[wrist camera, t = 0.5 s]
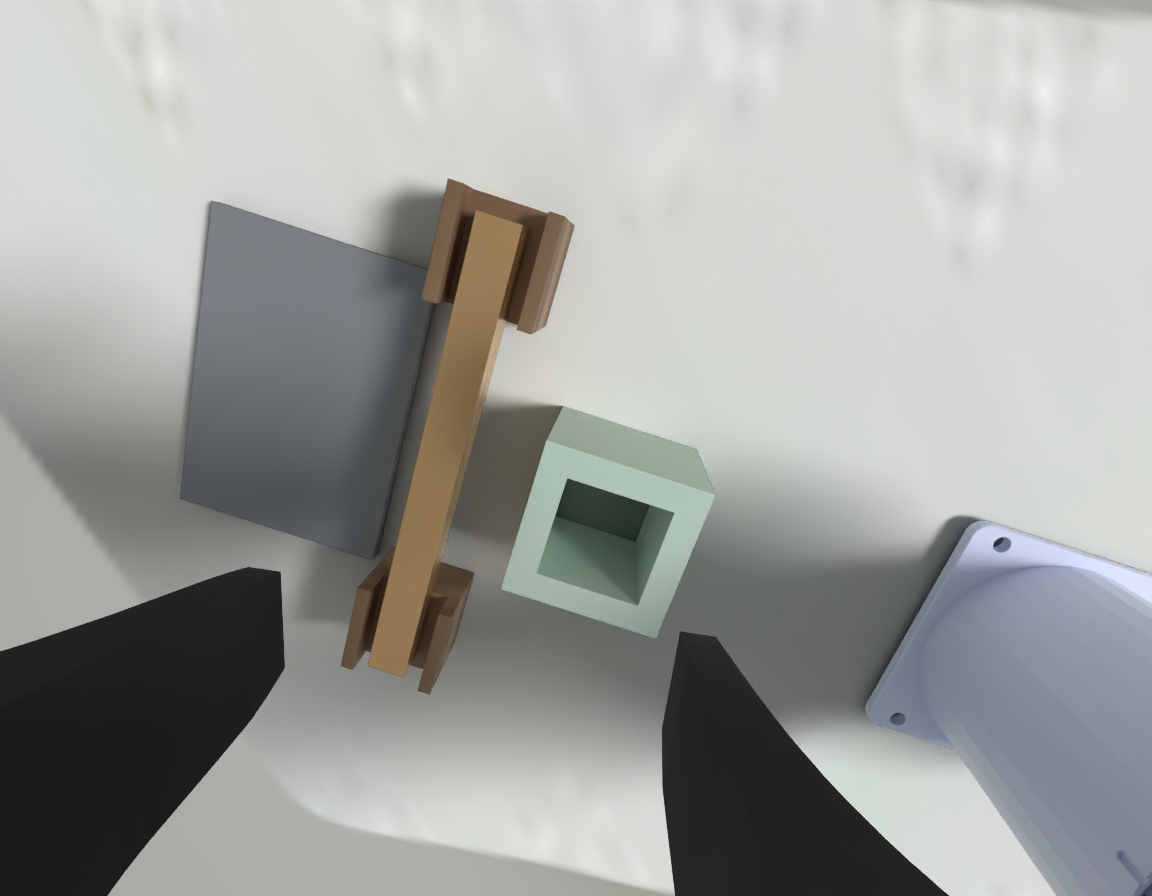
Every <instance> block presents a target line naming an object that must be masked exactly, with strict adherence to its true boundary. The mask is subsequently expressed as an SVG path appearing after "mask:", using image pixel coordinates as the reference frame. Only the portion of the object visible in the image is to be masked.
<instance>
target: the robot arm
mask: <svg viewBox="0 0 1152 896" xmlns="http://www.w3.org/2000/svg"><path fill="white" fill-rule="evenodd" d="M1001 537H1003V542H1002V543H1001V544H1000V545H999V546H996V547H993V544H994V542H995V541H996V540H997V539H998V538H1001ZM284 668H285V662H284V639H283V616H282V594H281V572H278V571H271V570H264V569H257V568H251V567H247V568H243V569H240V570H236V571H232V572H229V573H226V574H223V575H220V576H217V577H214V578H211V579H208V580H205V581H202V582H200V583H197V584H194V585H191V586H188V587H186V588H183V589H180V590H178V591H175V592H172V593H169V594H167V595H164V596H161V597H158V598H156V599H153V600H150V601H148V602H145V603H142V604H139V605H137V606H134V607H131V608H128V609H126V610H123V611H120V612H118V613H115V614H112V615H109V616H106V617H104V618H100V619H97V620H95V621H92V622H89V623H86V624H83V625H80V626H77V627H74V628H71V629H68V630H65V631H62V632H60V633H56V634H54V635H50V636H47V637H45V638H41V639H38V640H36V641H33V642H29V643H26V644H23V645H20V646H17V647H14V648H10V649H7V650H4V651H0V896H107V895H108V894H109V893H110V891H111V890H112V888H113V887H114V886H115V884H116V883H117V882H118V880H119V879H120V877H121V876H122V875H123V873H124V872H125V870H126V869H127V868H128V867H129V866H130V864H131V863H132V862H133V860H134V859H135V858H136V857H137V856H138V854H139V853H140V852H141V851H142V849H143V848H144V847H145V845H146V844H147V843H148V842H149V841H150V839H151V838H152V837H153V836H154V835H155V834H156V832H157V831H158V830H159V829H160V827H161V826H162V825H163V824H164V823H165V822H166V821H167V819H168V818H169V817H170V816H171V815H172V813H173V812H174V811H175V810H176V809H177V807H178V806H179V805H180V804H181V803H182V801H183V800H184V799H185V798H186V797H187V796H188V795H189V793H190V792H191V791H192V790H193V789H194V787H195V786H196V785H197V784H198V783H199V782H200V781H201V779H202V778H203V777H204V775H206V773H207V772H208V771H209V770H210V769H211V767H212V766H213V765H214V764H215V763H216V761H217V760H218V759H219V758H220V757H221V756H222V754H223V753H224V752H225V751H226V750H227V748H228V747H229V746H230V745H231V743H233V741H234V740H235V739H236V738H237V737H238V735H239V734H240V733H241V732H242V730H243V729H244V728H245V727H246V726H247V724H248V723H249V722H250V721H251V719H252V718H253V716H254V715H255V713H256V712H257V710H258V709H259V708H260V706H261V705H262V703H263V702H264V700H265V699H266V697H267V696H268V694H269V692H270V691H271V689H272V688H273V686H274V684H275V683H276V681H277V680H278V678H279V676H280V675H281V673H282V672H283V670H284ZM865 709H866V713H867V715H868V717H869V719H870V720H871V721H872V722H873V723H875V724H876V725H879V726H882V727H885V728H888V729H892V730H895V731H898V732H901V733H904V734H907V735H910V736H913V737H917V738H920V739H923V740H926V741H929V742H932V743H935V744H938V745H941V746H945V747H948V748H951V749H954V750H956V751H957V753H958V754H959V756H960V757H961V759H962V760H963V762H964V763H965V764H966V766H967V767H968V769H969V770H970V772H971V773H972V775H973V776H974V777H975V779H976V780H977V782H978V783H979V785H980V786H981V788H982V789H983V790H984V792H985V793H986V795H987V796H988V798H989V799H990V801H991V802H992V803H993V805H994V806H995V808H996V809H997V811H998V812H999V814H1000V815H1001V816H1002V818H1003V819H1004V821H1005V822H1006V824H1007V825H1008V827H1009V828H1010V830H1011V831H1012V832H1013V834H1014V835H1015V837H1016V838H1017V840H1018V841H1019V843H1020V844H1021V845H1022V847H1023V848H1024V850H1025V851H1026V853H1027V854H1028V856H1029V857H1030V858H1031V860H1032V861H1033V863H1034V864H1035V866H1036V867H1037V869H1038V870H1039V871H1040V873H1041V874H1042V876H1043V877H1044V879H1045V880H1046V882H1047V883H1048V884H1049V886H1050V887H1051V889H1052V890H1053V892H1054V893H1055V895H1056V896H1152V574H1150V573H1147V572H1143V571H1140V570H1137V569H1134V568H1131V567H1128V566H1125V565H1122V564H1119V563H1116V562H1113V561H1109V560H1106V559H1103V558H1100V557H1097V556H1094V555H1091V554H1088V553H1085V552H1082V551H1079V550H1076V549H1072V548H1069V547H1066V546H1063V545H1060V544H1057V543H1054V542H1051V541H1048V540H1045V539H1042V538H1038V537H1035V536H1032V535H1029V534H1026V533H1023V532H1020V531H1017V530H1014V529H1011V528H1008V527H1004V526H1001V525H998V524H995V523H992V522H989V521H977V522H974V523H973V524H971V525H969V526H968V528H967V529H966V530H965V532H964V533H963V535H962V537H961V539H960V540H959V542H958V544H957V546H956V547H955V549H954V551H953V553H952V554H951V556H950V558H949V560H948V561H947V563H946V565H945V567H944V568H943V570H942V572H941V574H940V575H939V577H938V579H937V581H936V582H935V584H934V586H933V588H932V590H931V591H930V593H929V595H928V597H927V598H926V600H925V602H924V604H923V605H922V607H921V609H920V611H919V612H918V614H917V616H916V618H915V619H914V621H913V623H912V625H911V626H910V628H909V630H908V632H907V633H906V635H905V637H904V639H903V640H902V642H901V644H900V646H899V647H898V649H897V651H896V653H895V654H894V656H893V658H892V660H891V661H890V663H889V665H888V667H887V668H886V670H885V672H884V674H883V675H882V677H881V679H880V681H879V682H878V684H877V686H876V688H875V689H874V691H873V693H872V695H871V696H870V698H869V700H868V702H867V704H866V707H865ZM895 713H900V714H899V715H898V716H896V717H891V716H892V715H893V714H895ZM662 777H663V795H664V804H665V813H666V822H667V830H668V839H669V847H670V856H671V864H672V873H673V881H674V889H675V896H949V895H947V894H946V893H945V892H944V891H943V890H942V889H941V888H939V887H938V886H937V885H936V884H935V883H934V882H933V881H931V880H930V879H929V878H928V877H927V876H926V875H925V874H923V873H922V872H921V871H920V870H919V869H918V868H917V867H915V866H914V865H913V864H912V863H911V862H910V861H909V860H908V859H907V858H905V857H904V856H903V855H902V854H901V853H900V852H899V851H898V850H897V849H896V848H895V847H894V846H893V845H891V844H890V843H889V842H888V841H887V840H886V839H885V838H884V837H883V836H882V835H881V834H880V833H879V832H878V831H877V830H876V829H875V828H874V827H873V826H872V825H871V824H870V823H869V822H868V821H867V820H866V819H865V818H864V817H863V816H862V815H861V814H860V813H859V812H858V811H857V810H856V809H855V808H854V807H853V806H852V805H851V804H850V803H849V802H848V801H847V800H846V799H845V798H844V797H843V796H842V795H841V794H840V793H839V792H838V791H837V790H836V789H835V787H834V786H833V785H832V784H831V783H830V782H829V781H828V780H827V779H826V778H825V777H824V776H823V774H822V773H821V772H820V771H819V770H818V769H817V768H816V766H815V765H814V764H813V763H812V762H811V761H810V760H809V758H808V757H807V756H806V755H805V754H804V753H803V752H802V750H801V749H800V748H799V747H798V746H797V745H796V743H795V742H794V741H793V740H792V739H791V737H790V736H789V735H788V734H787V733H786V731H785V730H784V729H783V728H782V726H781V725H780V724H779V722H778V721H777V720H776V719H775V717H774V716H773V715H772V713H771V712H770V711H769V710H768V708H767V707H766V706H765V704H764V703H763V702H762V700H761V699H760V698H759V696H758V695H757V694H756V692H755V691H754V690H753V688H752V687H751V685H750V684H749V683H748V681H747V680H746V679H745V677H744V676H743V674H742V673H741V672H740V670H739V669H738V667H737V666H736V665H735V663H734V662H733V660H732V659H731V657H730V656H729V655H728V653H727V652H726V650H725V649H724V648H723V646H722V645H721V644H720V642H719V641H718V639H717V638H716V637H713V636H706V635H699V634H693V633H686V632H680V636H679V641H678V646H677V652H676V657H675V662H674V668H673V673H672V678H671V684H670V689H669V695H668V700H667V705H666V711H665V716H664V721H663V727H662Z"/></svg>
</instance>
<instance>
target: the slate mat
mask: <svg viewBox="0 0 1152 896" xmlns="http://www.w3.org/2000/svg"><path fill="white" fill-rule="evenodd" d="M427 272H428V270H426V269H423V268H420V267H417V266H414V265H411V264H408V263H405V262H402V261H399V260H396V259H393V258H389V257H386V256H383V255H380V254H377V253H374V252H371V251H368V250H365V249H362V248H359V247H356V246H353V245H349V244H346V243H343V242H340V241H337V240H334V239H331V238H328V237H325V236H322V235H319V234H316V233H312V232H309V231H306V230H303V229H300V228H297V227H294V226H291V225H288V224H285V223H282V222H279V221H276V220H272V219H269V218H266V217H263V216H260V215H257V214H254V213H251V212H248V211H245V210H242V209H239V208H235V207H232V206H229V205H226V204H223V203H220V202H214V201H212V202H211V211H210V221H209V230H208V240H207V249H206V258H205V268H204V277H203V287H202V296H201V305H200V315H199V324H198V334H197V343H196V353H195V362H194V371H193V381H192V390H191V400H190V409H189V419H188V428H187V437H186V447H185V456H184V466H183V475H182V484H181V494H180V499H183V500H186V501H189V502H192V503H195V504H198V505H202V506H205V507H208V508H211V509H214V510H217V511H220V512H223V513H226V514H230V515H233V516H236V517H239V518H242V519H245V520H248V521H251V522H254V523H258V524H261V525H264V526H267V527H270V528H273V529H276V530H279V531H283V532H286V533H289V534H292V535H295V536H298V537H301V538H304V539H307V540H311V541H314V542H317V543H320V544H323V545H326V546H329V547H332V548H336V549H339V550H342V551H345V552H348V553H351V554H354V555H357V556H360V557H364V558H367V559H370V560H373V559H374V558H375V556H376V555H377V552H378V548H379V543H380V539H381V535H382V530H383V526H384V521H385V517H386V513H387V508H388V504H389V499H390V495H391V491H392V486H393V482H394V477H395V473H396V469H397V464H398V460H399V455H400V451H401V447H402V442H403V438H404V433H405V429H406V425H407V420H408V416H409V411H410V407H411V403H412V398H413V394H414V389H415V385H416V381H417V376H418V372H419V367H420V363H421V359H422V354H423V350H424V345H425V341H426V337H427V332H428V328H429V323H430V319H431V315H432V310H433V306H434V303H433V302H430V301H426V300H423V299H422V295H423V290H424V286H425V281H426V277H427Z"/></svg>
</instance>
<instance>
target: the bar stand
mask: <svg viewBox="0 0 1152 896" xmlns="http://www.w3.org/2000/svg"><path fill="white" fill-rule="evenodd" d="M476 210H478V211H481V212H484V213H487V214H490V215H493V216H496V217H499V218H502V219H505V220H508V221H511V222H514V223H517V224H521V225H523V226H525V227H528V228H530V233H529V237H528V241H527V244H526V248H525V252H524V256H523V259H522V263H521V267H520V271H519V274H518V278H517V282H516V286H515V289H514V293H513V297H512V300H511V304H510V308H509V312H508V315H507V319H506V321H508V322H511V323H514V324H517V325H518V327H517V330H519V331H522V332H525V333H528V334H533V333H534V332H536V331H538V330H539V329H541V328H543V327H544V326H546V323H547V319H548V316H549V312H550V309H551V305H552V302H553V299H554V295H555V292H556V288H557V285H558V281H559V278H560V274H561V271H562V267H563V264H564V260H565V257H566V253H567V250H568V247H569V243H570V240H571V236H572V233H573V229H574V225H573V224H572V223H571V222H570V221H569V220H568V219H567V218H566V217H565V216H562V215H559V214H555V213H552V212H549V213H545V212H542V211H539V210H536V209H533V208H530V207H527V206H523V205H520V204H517V203H514V202H511V201H508V200H505V199H502V198H499V197H496V196H493V195H490V194H487V193H484V192H481V191H477V190H474V189H472V188H471V187H469V186H467V185H465V184H463V183H460V182H457V181H454V180H451V179H448V181H447V186H446V190H445V195H444V199H443V204H442V209H441V213H440V218H439V222H438V227H437V231H436V236H435V240H434V245H433V249H432V254H431V259H430V263H429V268H428V272H427V277H426V281H425V286H424V290H423V295H422V299H423V300H426V301H430V302H433V303H436V304H437V303H444V302H449V303H452V304H454V301H455V297H456V292H457V288H458V284H459V280H460V276H461V271H462V267H463V263H464V259H465V254H466V250H467V246H468V242H469V238H470V233H471V229H472V225H473V221H474V217H475V212H476ZM395 549H396V548H394V547H393V548H392V549H391V550H390V551H389V553H388V554H387V555H386V556H385V557H384V558H383V560H382V561H381V562H380V563H379V564H378V565H377V566H376V568H375V569H374V570H373V571H372V572H371V573H370V575H369V576H368V577H367V578H366V579H365V580H364V582H363V583H362V584H361V585H360V586H359V587H358V590H357V594H356V599H355V603H354V608H353V613H352V617H351V622H350V626H349V631H348V635H347V640H346V644H345V649H344V653H343V658H342V662H341V666H342V667H345V668H348V669H351V670H353V669H354V667H355V666H356V664H357V663H358V661H359V660H360V658H361V657H362V656H363V654H364V653H365V651H369V652H371V650H372V646H373V642H374V638H375V633H376V629H377V625H378V621H379V616H380V612H381V608H382V604H383V600H384V595H385V591H386V587H387V583H388V579H389V574H390V570H391V566H392V562H393V558H394V553H395ZM473 576H474V573H472V572H469V571H466V570H463V569H460V568H456V567H453V566H450V565H447V564H444V563H441V566H440V570H439V574H438V578H437V581H436V585H435V589H434V593H433V596H432V600H431V604H430V607H429V611H428V615H427V619H426V622H425V626H424V630H423V634H422V637H421V641H420V645H419V649H418V652H417V655H416V657H415V659H414V661H413V662H412V664H411V665H412V666H415V667H419V668H422V669H424V670H423V673H422V677H421V681H420V684H419V688H418V691H420V692H423V693H427V694H430V693H431V690H432V688H433V686H434V684H435V682H436V680H437V678H438V676H439V674H440V671H441V669H442V667H443V665H444V663H445V661H446V659H447V657H448V654H449V652H450V650H451V648H452V646H453V644H454V642H455V638H456V635H457V631H458V628H459V624H460V621H461V617H462V614H463V610H464V607H465V603H466V600H467V597H468V593H469V590H470V586H471V583H472V579H473Z"/></svg>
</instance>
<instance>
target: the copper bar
mask: <svg viewBox="0 0 1152 896" xmlns="http://www.w3.org/2000/svg"><path fill="white" fill-rule="evenodd" d="M529 233H530V228H528V227H525V226H523V225H521V224H517V223H514V222H511V221H508V220H505V219H502V218H499V217H496V216H493V215H490V214H487V213H484V212H481V211H478V210H476V212H475V217H474V221H473V225H472V229H471V233H470V238H469V242H468V246H467V250H466V254H465V259H464V263H463V267H462V271H461V276H460V280H459V284H458V288H457V292H456V297H455V301H454V305H453V309H452V313H451V318H450V322H449V326H448V330H447V334H446V339H445V343H444V347H443V351H442V356H441V360H440V364H439V368H438V372H437V377H436V381H435V385H434V389H433V393H432V398H431V402H430V406H429V410H428V414H427V419H426V423H425V427H424V431H423V435H422V440H421V444H420V448H419V452H418V457H417V461H416V465H415V469H414V473H413V478H412V482H411V486H410V490H409V494H408V499H407V503H406V507H405V511H404V515H403V520H402V524H401V528H400V532H399V537H398V541H397V545H396V549H395V553H394V558H393V562H392V566H391V570H390V574H389V579H388V583H387V587H386V591H385V595H384V600H383V604H382V608H381V612H380V616H379V621H378V625H377V629H376V633H375V638H374V642H373V646H372V650H371V654H370V659H369V663H368V666H369V667H372V668H375V669H378V670H381V671H384V672H387V673H391V674H394V675H397V676H400V677H403V678H404V677H405V675H406V673H407V671H408V669H409V668H410V666H411V664H412V662H413V661H414V659H415V657H416V655H417V652H418V649H419V645H420V641H421V637H422V634H423V630H424V626H425V622H426V619H427V615H428V611H429V607H430V604H431V600H432V596H433V593H434V589H435V585H436V581H437V578H438V574H439V570H440V566H441V563H442V559H443V555H444V551H445V548H446V544H447V540H448V536H449V533H450V529H451V525H452V521H453V518H454V514H455V510H456V506H457V503H458V499H459V495H460V491H461V488H462V484H463V480H464V476H465V473H466V469H467V465H468V461H469V458H470V454H471V450H472V447H473V443H474V439H475V435H476V432H477V428H478V424H479V420H480V417H481V413H482V409H483V405H484V402H485V398H486V394H487V390H488V387H489V383H490V379H491V375H492V372H493V368H494V364H495V360H496V357H497V353H498V349H499V345H500V342H501V338H502V334H503V330H504V327H505V323H506V319H507V315H508V312H509V308H510V304H511V300H512V297H513V293H514V289H515V286H516V282H517V278H518V274H519V271H520V267H521V263H522V259H523V256H524V252H525V248H526V244H527V241H528V237H529Z"/></svg>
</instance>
